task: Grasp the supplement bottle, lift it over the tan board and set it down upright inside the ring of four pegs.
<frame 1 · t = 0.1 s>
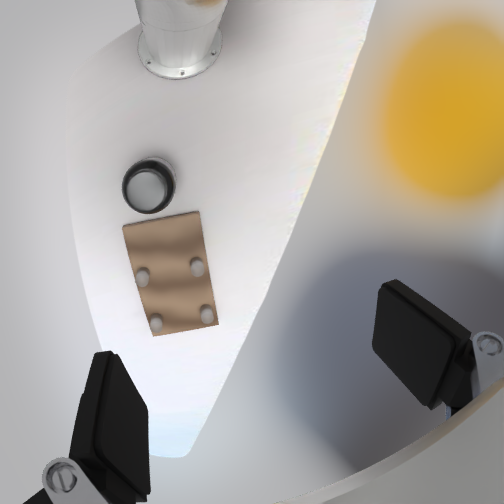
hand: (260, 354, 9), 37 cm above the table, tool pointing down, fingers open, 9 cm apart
supplement bottle: (154, 179, 40), on the table
peg board: (172, 276, 46), on the table
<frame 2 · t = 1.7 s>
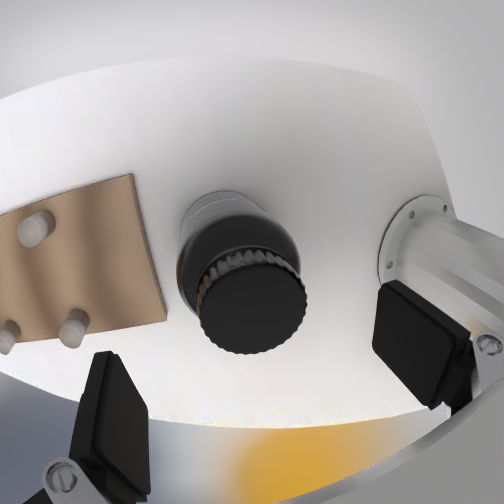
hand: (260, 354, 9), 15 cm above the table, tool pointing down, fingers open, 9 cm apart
supplement bottle: (221, 231, 23), on the table
peg board: (47, 270, 20), on the table
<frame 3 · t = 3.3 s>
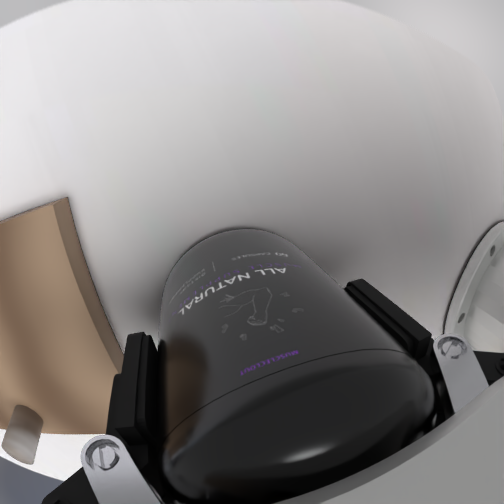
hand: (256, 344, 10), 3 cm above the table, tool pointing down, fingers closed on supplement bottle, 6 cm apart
supplement bottle: (237, 298, 13), on the table, touching gripper
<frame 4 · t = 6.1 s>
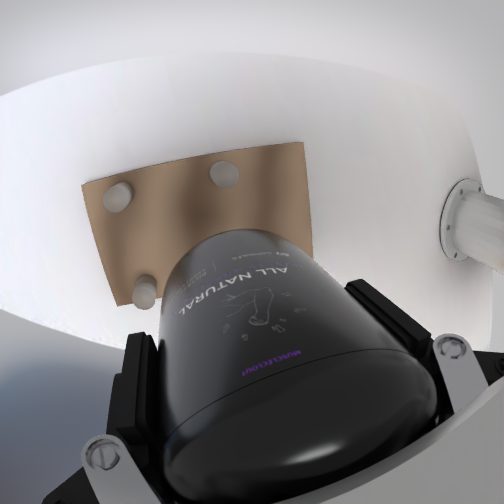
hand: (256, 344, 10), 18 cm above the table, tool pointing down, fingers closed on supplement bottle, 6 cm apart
supplement bottle: (237, 298, 13), point 15 cm above the table, touching gripper
peg board: (202, 221, 26), on the table
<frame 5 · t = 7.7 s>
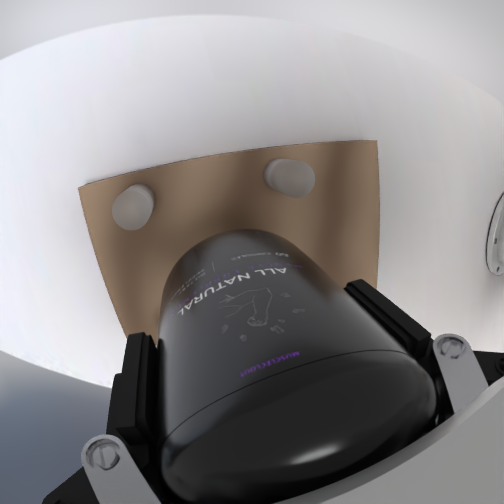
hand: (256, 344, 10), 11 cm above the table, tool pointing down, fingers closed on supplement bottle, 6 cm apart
supplement bottle: (237, 298, 13), point 7 cm above the table, touching gripper
peg board: (247, 239, 20), on the table
when the fingers open (6 cm above the table, at t = 9.1 s): supplement bottle drops 2 cm, resting on peg board.
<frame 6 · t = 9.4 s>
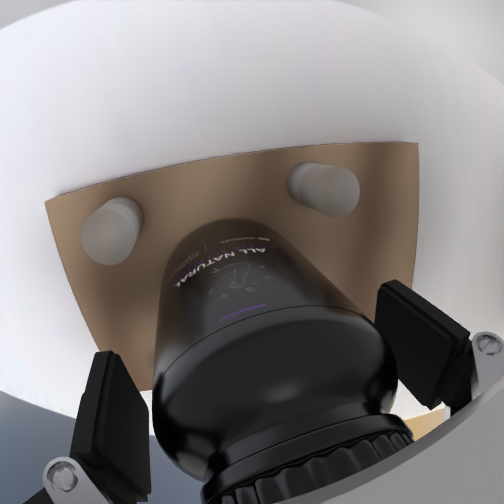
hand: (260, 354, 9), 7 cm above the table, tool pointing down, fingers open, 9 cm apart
supplement bottle: (229, 283, 14), point 1 cm above the table, touching peg board
peg board: (262, 263, 16), on the table
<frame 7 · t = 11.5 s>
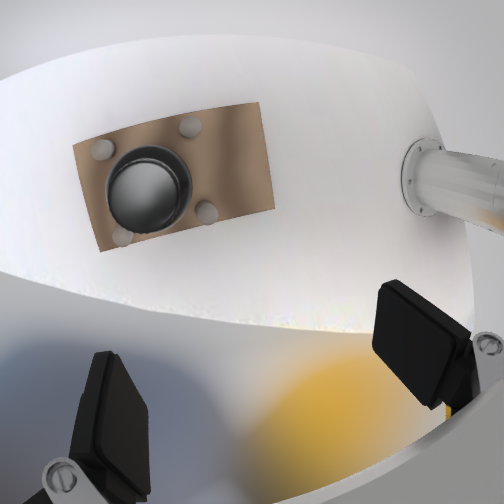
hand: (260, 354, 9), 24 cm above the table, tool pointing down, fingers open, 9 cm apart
supplement bottle: (154, 179, 28), point 1 cm above the table, touching peg board
peg board: (174, 173, 29), on the table
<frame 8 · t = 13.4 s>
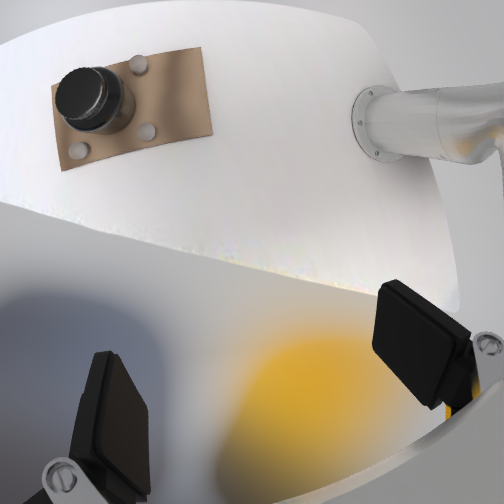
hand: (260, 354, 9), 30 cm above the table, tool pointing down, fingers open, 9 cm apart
supplement bottle: (110, 109, 29), point 1 cm above the table, touching peg board
peg board: (127, 106, 30), on the table
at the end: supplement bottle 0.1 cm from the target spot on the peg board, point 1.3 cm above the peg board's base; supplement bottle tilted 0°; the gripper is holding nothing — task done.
